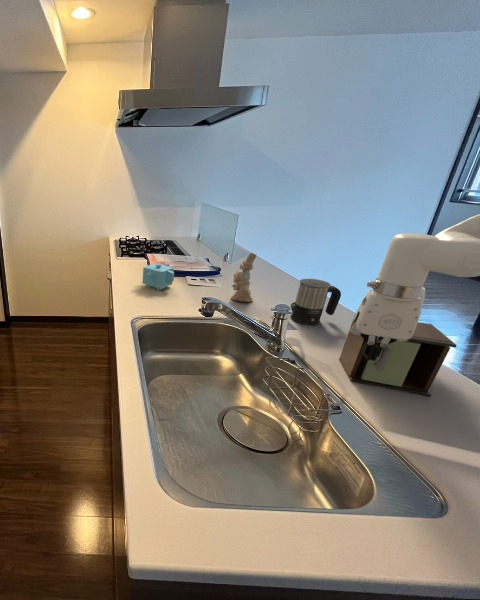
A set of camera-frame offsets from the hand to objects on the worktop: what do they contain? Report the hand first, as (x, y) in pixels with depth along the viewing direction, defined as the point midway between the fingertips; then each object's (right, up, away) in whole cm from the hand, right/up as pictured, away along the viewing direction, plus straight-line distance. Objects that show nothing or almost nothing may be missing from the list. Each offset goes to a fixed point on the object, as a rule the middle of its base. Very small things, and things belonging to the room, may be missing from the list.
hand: (368, 357), depth 79 cm
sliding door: (+6, -8, +2) cm, 10 cm away
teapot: (-34, +21, +74) cm, 84 cm away
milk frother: (+13, +8, +43) cm, 45 cm away
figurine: (-3, +14, +58) cm, 60 cm away
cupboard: (+10, -6, +8) cm, 15 cm away
